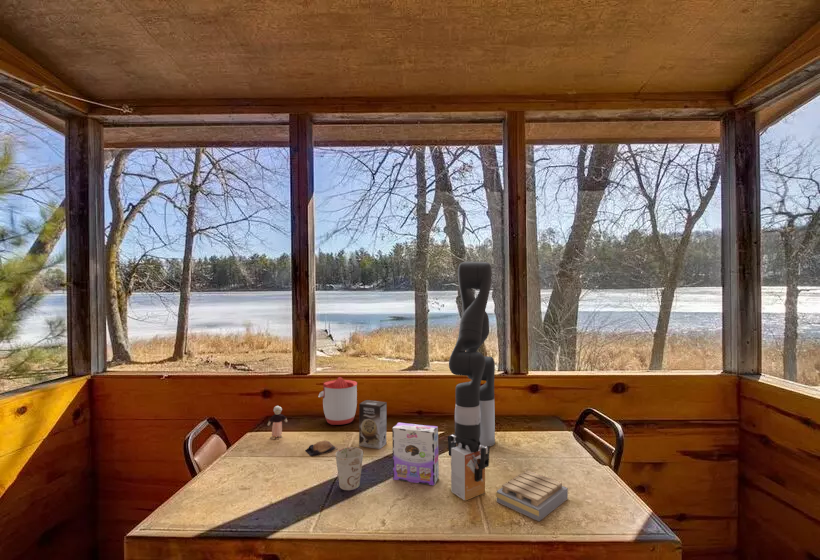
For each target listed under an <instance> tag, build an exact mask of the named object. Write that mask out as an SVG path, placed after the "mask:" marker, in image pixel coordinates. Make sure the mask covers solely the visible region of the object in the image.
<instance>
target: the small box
mask: <svg viewBox="0 0 820 560" xmlns="http://www.w3.org/2000/svg"><path fill="white" fill-rule="evenodd" d="M472 454H473V455H474V457H477V456H479V455H481V454H480V449H479V450H478V451H476V452H475V453H474V452H472V453H471V452H468V451H467V450H466V449H464V448H461V449H460V448H458V445H456V447H453V448H451V456H450V466H451V468H450V469H451V471H450V478H451V479H450V481H451V482H450V486H451V488H450V489H451V493H453V494H454V495H456V496H457V497H459V498H460V499H461V500H463V501H468V500H470V499H473V498H475V497H477V496H481V495H483V494H486V468H484V469H482V471H483V478H482V479H481V480H480V481H479V482H476V481H475V465H474V462H473V461H472ZM477 462H478V464H479V459H477Z"/></svg>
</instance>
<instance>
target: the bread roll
mask: <svg viewBox="0 0 820 560" xmlns="http://www.w3.org/2000/svg"><path fill="white" fill-rule="evenodd" d="M338 449H339V448H338V447H337V446H335V445H333V444H332V442H330V441H329V440H321V441H318V442H316V443H314V444H310V445H309V446H308V447H307V448H306V449H305V453H307V454H308V455H309V456H310V457H318V456H321V455H325V454H328V453H332V452H334V451H338Z"/></svg>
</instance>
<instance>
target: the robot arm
mask: <svg viewBox="0 0 820 560" xmlns="http://www.w3.org/2000/svg"><path fill="white" fill-rule="evenodd" d="M492 270H493V269H492V266H491V263H489V262H486V261H462V262H460V263H459V265H458V268H457V280H458V281H457V282H458V287H459V291H460V292H459V293H460V300H461V308H462V309H461V310H462V316H461V317H460V321H459V328H458V336H457V339H456V343H455V346H454V348H453V350H452V351H451V353H450V357H449V360H448V368H449V371H450V372H451V373H452V375H456V376H466V377H467V378H468V379H470V381H465V382H460V383H458V384H456V386H455V390H454V391H455V392H454V393H455V396H454V397H455V406H454V407H455V408H454V433H453V434H450V435H448V436H447V450H448V455H449V456H450V457H451V448H453V447H457V446H458V448H460V449H461V448H464V449H466V450H467V451H468V452H471V453H472V452H474V453H475V452H476V451H478V450H479V449H480V454H481V455H479V456H477V457H474V455H473V454H472V461H473V462H474V465H475V481H476V482H479V481H480V480H481V479H482V478H483V471H482V469H484V468H485V469H486V468H488V467H489V465H490V447H491V446H492V447H493V446H494V445H495V444H496V429H495V427H496V425H495V424H496V423H495V420H496V419H495V418H496V417H495V416H496V415H495V410H496V409H495V375H496V374H495V372H496V370H495V369H496V368H495V367H496V365H495V363H496V362H495V359H494V358H493V356H486V355H485V356H484V355H483V353H482V352H480V351H478V350H479V349H480V347H482V345H483V344H484V342H485V341H486V340H487V339H488V337H489V334H490V320H489V315H488V313H487V312H486V308H487V303H488V301H489V294H490V290H491V286H492V277H493V271H492ZM472 290H479V291H478V294H477V295H476V297H475V296H474V294H473V292H472ZM482 381H485V383H484V384H482V385H481V383H482ZM477 459H479V464H478V462H477Z"/></svg>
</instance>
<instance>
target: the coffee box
mask: <svg viewBox="0 0 820 560" xmlns="http://www.w3.org/2000/svg"><path fill="white" fill-rule="evenodd" d="M387 405H388V404H387V401H380V400H370V399H366V400H364V401H362V402H360V403H359V404H358V409H359V410H358V412H359V413H358V415H359V417H358V420H359V421H358V423H359V424H358V429H359V430H358V435H359V436H358V440H359V441H358V445H359V447H365V448H370V449H371V448H372V449H377V450H381V449H382V448H383V447H385V445H387Z"/></svg>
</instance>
